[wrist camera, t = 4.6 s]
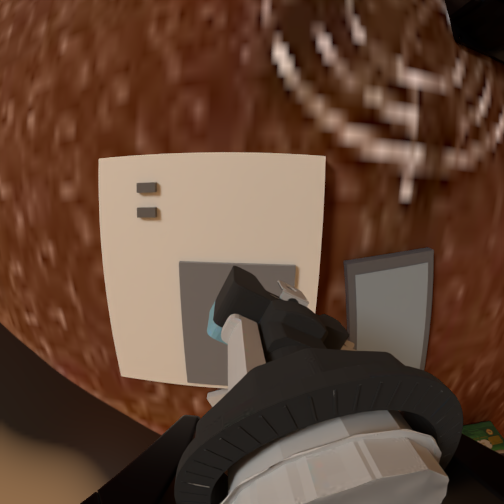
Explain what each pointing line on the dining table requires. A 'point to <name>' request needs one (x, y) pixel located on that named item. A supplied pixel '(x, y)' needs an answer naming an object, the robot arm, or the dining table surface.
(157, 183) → the outlet plate
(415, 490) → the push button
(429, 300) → the phone slab
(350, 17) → the dining table surface
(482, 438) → the coffee box
